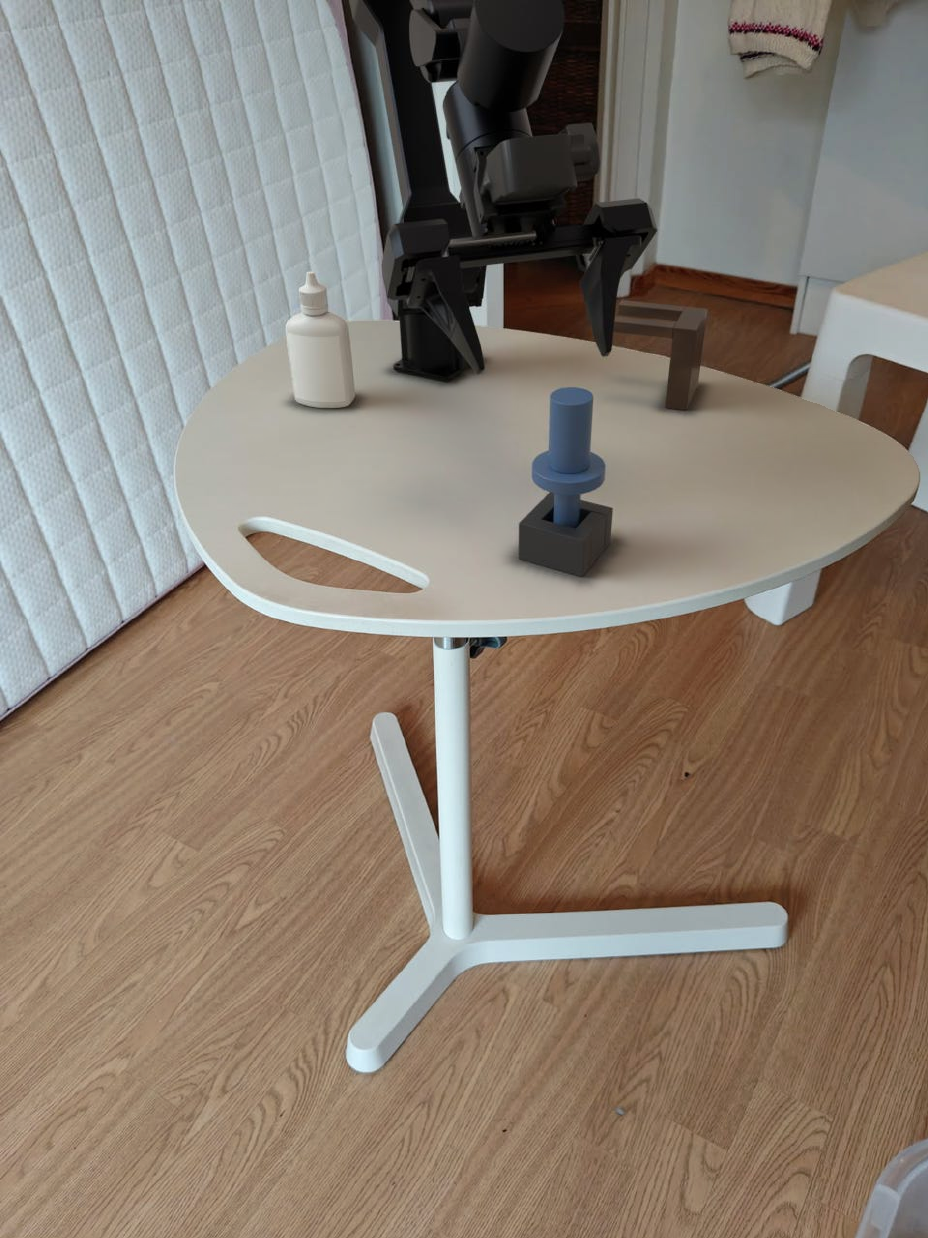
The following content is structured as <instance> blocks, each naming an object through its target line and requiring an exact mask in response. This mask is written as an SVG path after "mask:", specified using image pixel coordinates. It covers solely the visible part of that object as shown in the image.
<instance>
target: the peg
mask: <svg viewBox="0 0 928 1238" xmlns="http://www.w3.org/2000/svg"><path fill="white" fill-rule="evenodd" d="M593 413H594V394H593V393H592V391H590V390H588V389H585V388H582V387H577V386H575V387H574V386H567V387H565V386H564V387H561V388H557V389H555V390H553V391H552V392H550V395H549V418H548V419H549V421H548V425H549V426H548V450H545V451H544V452H541V453H540V454H538V455H536V456H535V458H534V459H533V460H532V462H531V480H532V482H533V483H534V485H536V487H538V488H540V489H541V490H542V491H545V492H548V493H550V492H551V493H554V520H553V523H556V524H560V525H564V526H567V527H571V528H575V529H576V528H577V527H578V526H579V513H580V500H581V495H583V494H587V493H590V492H594V491H596V490H597V489H599V488H600V487H601V486H602V485H603V484H604V482H605V481H606V480H605V479H606V469H607V468H606V467H607V465H606V462H605V461H604V459H603V458H602V457H601V456H599V455H598V454H596V453H595V452H593V451H591V449H592V448H591V447H592V446H591V445H592V430H593V429H592V428H593V415H594V414H593Z"/></svg>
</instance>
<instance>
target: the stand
mask: <svg viewBox="0 0 928 1238" xmlns="http://www.w3.org/2000/svg"><path fill="white" fill-rule="evenodd" d="M617 308H618V309H617V315H618V316H616V315H615V321H614V332H613V333H617V334H618V333H619V334H628V335H636V336H643V337H645V336H646V337H654V338H662V339H663V338H664V339H671V347H670V357H669V366H668V375H667V382H666V383H667V385H666V392H665V393H666V394H665V402H664V408H665V409H673V410H679V411H680V410H681V411H687V410H688V408H689V406H690V404H691V402H692V400H693V397H694V395H695V393H696V391H697V389H698V386H699V379H700V372H701V365H702V364H701V363H702V355H703V347H704V338H705V332H706V331H705V330H706V323H707V315H708V308H705V307H703V308H702V307H695V306H694V307H692V306H683V305H682V306H681V305H673V304H672V305H671V304H665V303H664V304H662V303H652V302H643V301H633V300H621V301H620V302H619V303H618V307H617Z"/></svg>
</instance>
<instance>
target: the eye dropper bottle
mask: <svg viewBox="0 0 928 1238" xmlns="http://www.w3.org/2000/svg"><path fill="white" fill-rule="evenodd" d="M305 274H306V275H305V284H304V285H302V286H300V287H299V288H298V296H299V305H300V312H298V313H296V314H294V315H293V316H291V318H289V319H288V320H287V322H286V324H285V338H286V345H287V353H288V361H289V368H290V376H291V382H292V383H291V384H292V390H293V399H294V400H295V402H296V403H297V404H300V405H303V406H307V407H311V408H318V409H338V408H339V409H340V408H341V409H342V408H346V407H348V406H349V405H350V404H351V403H352V402H353V401H354V400H355V397H356V387H355V377H354V367H353V357H352V346H351V338H350V329H349V328H350V327H349V325H348V323H347V320H346V319H344V318H343V317H341V316H340V315H338V314H336V313H333V312H331V311H329V301H328V292H327V287H326V286H325V285H324V284H320V283H319V282H318V278H317V276H316V272H315V271H313V270H310V271H307V272H306V273H305Z"/></svg>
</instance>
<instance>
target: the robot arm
mask: <svg viewBox="0 0 928 1238" xmlns="http://www.w3.org/2000/svg"><path fill="white" fill-rule="evenodd" d="M348 2H349V7H350V11H351V16H352V21H353V23H354V24H355V25H356V26H357V27H358V28H359V30H360V31H361V32H362V33H363V34H364V36H365V37H366V38H367V39H368V40H369V41H370V43H371V44H372V45H373V46H374V49H375V53H376V59H377V65H378V70H379V77H380V82H381V87H382V88H381V89H382V94H383V100H384V105H385V110H386V117H387V122H388V128H389V134H390V140H391V145H392V151H393V157H394V163H395V170H396V175H397V180H398V187H399V192H400V198H401V205H402V210H401V212H400V216H399V218H398V221H397V223H393V225H392V226H391V228H390V230H389V231H388V232H387V234H386V239H385V243H384V249H383V253H382V254H383V255H382V259H381V276H382V281H383V286H384V290H385V297H386V302H387V305H388V306H389V307H390V308H391V310H392V311H393V313H394V315H395V316H396V317H397V318H398V319H399V332H400V333H399V334H400V350H401V359H400V360H398V361H397V362H394V363H393V370H394V371H396V372H400V373H405V374H410V375H415V376H419V377H425V378H429V379H433V380H434V379H435V380H438V381H443V382H444V381H445V382H447V381H451V380H452V379H453V378H455V377H457V376H458V375H459V374H461V373H462V372H464V371H465V370H466V369H467V368H469V367H471V369H472V370H473V372H474V373H475V374H476V375H483V373H484V371H485V368H486V365H485V360H484V353H483V349H482V345H481V341H480V338H479V335H478V334H479V333H478V332H477V328H476V325H475V322H474V318H473V315H472V312H471V309H470V308H472V307H475V308H478V307H482V305H483V299H484V297H485V296H484V295H485V285H486V279H487V268H488V266H493V265H503V264H510V263H520V262H528V261H536V260H537V261H538V260H545V259H547V260H548V259H554V258H563V257H572V256H575V258H576V262H577V266H578V269H579V270H581V271H582V272H583V273H584V274H583V275H582V277H581V278H580V280H579V282H578V283H579V288H580V291H581V296H582V298H583V303H584V306H585V309H586V313H587V317H588V321H589V324H590V327H591V331H592V335H593V340H594V341H595V344H596V347H597V349H598V351H599V353H600V355H601V357H606V358H607V357H608V356H609V355H610V354H611V352H612V349H613V342H614V333H615V332H614V321H615V316H616V309H617V300H618V292H619V287H620V281H621V279H622V277H623V275H624V274H625V273H626V272H628V271H629V270H632V269H633V268H634V266H635V265H636V263H637V262H638V260H639V259H640V258H641V256H642V255H643V253H644V252H645V250H646V249H647V247H648V246H649V244H650V243H651V241H652V240H653V238H654V237H655V235H656V234H657V232H658V228H657V224H656V223H657V222H656V220H655V215H654V212H653V209H652V208H651V206H650V204H648V202H646V201H644V199H641V198H638V197H637V198H629V199H620V200H611V201H600V202H594V204H593V205H592V207H591V208H590V210H589V213H588V214H587V216H586V218H585V220H584V222H583V224H579V225H577V224H576V225H569V226H560V227H555V223H554V218H555V217H561V216H562V214H563V212H564V210H565V208H566V201H565V198H564V195H565V194H566V193H568V192H569V191H571V192H572V191H576V190H577V188H578V182H585V181H589V180H590V179H592V178H593V177H595V176H596V175H598V173H599V172H600V168H601V153H600V146H599V141H598V138H597V135H596V132H595V129H594V125H593V123H592V122H583V123H572V124H567V125H566V126H565V127H564V129H562V130H561V131H559V133H557V134H548V135H547V134H546V135H535V136H534V135H533V133H532V129H531V125H530V121H529V116H528V113H527V109H526V108H528V107H529V106H531V105H532V104H533V103H534V102H536V101H537V100H538V98H539V95H540V93H541V90H542V87H543V84H544V82H545V79H546V76H547V74H548V71H549V69H550V67H551V64H552V60H553V57H554V55H555V53H556V50H557V47H558V44H559V42H560V39H561V37H562V34H563V31H564V28H565V21H566V13H565V8H564V4H563V2H562V0H348ZM449 82H453V83H452V84H451V85H450V86H449V87H448V89H447V90H446V93H445V95H444V97H443V99H442V105H441V107H442V111H443V112H442V113H443V116H444V121H445V136H446V139H447V140H449V142H450V145H451V150H452V154H453V158H454V162H455V169H456V172H457V176H458V181H459V186H460V188H461V189H460V190H459V191H460V192H459V195H458V198H459V199H458V198H457V197H456V196H455V195H454V194H453V193H452V191H451V189H450V183H449V177H448V172H447V165H446V159H445V154H444V153H445V152H444V147H443V142H442V137H441V130H440V123H439V118H438V112H437V106H436V100H435V94H434V87H433V84H434V83H435V84H436V83H449Z"/></svg>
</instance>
